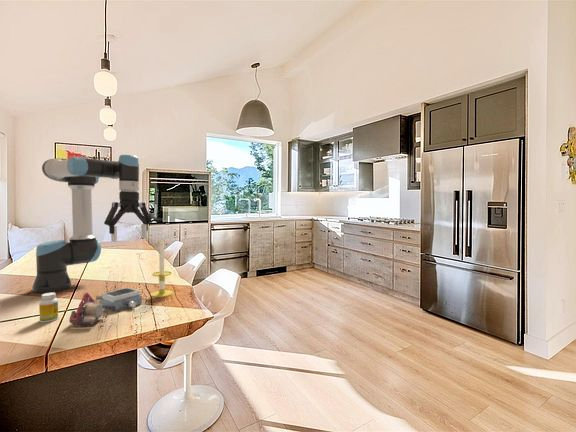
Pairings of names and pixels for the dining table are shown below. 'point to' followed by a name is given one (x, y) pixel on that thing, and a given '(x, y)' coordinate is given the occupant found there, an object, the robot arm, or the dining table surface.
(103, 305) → the gray drawer
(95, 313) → the brake caliper
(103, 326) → the dining table surface
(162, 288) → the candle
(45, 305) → the supplement bottle
